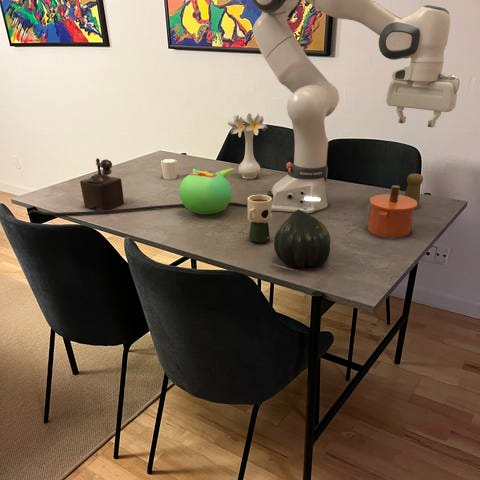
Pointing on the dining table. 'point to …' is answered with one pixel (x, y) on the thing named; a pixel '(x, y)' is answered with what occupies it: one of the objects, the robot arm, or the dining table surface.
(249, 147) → the flower vase
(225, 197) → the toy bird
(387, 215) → the pot
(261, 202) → the character mug
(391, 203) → the lid
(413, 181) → the cork
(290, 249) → the squash
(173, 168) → the white short cylinder
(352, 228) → the dining table surface
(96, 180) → the coffee grinder
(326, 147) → the robot arm
